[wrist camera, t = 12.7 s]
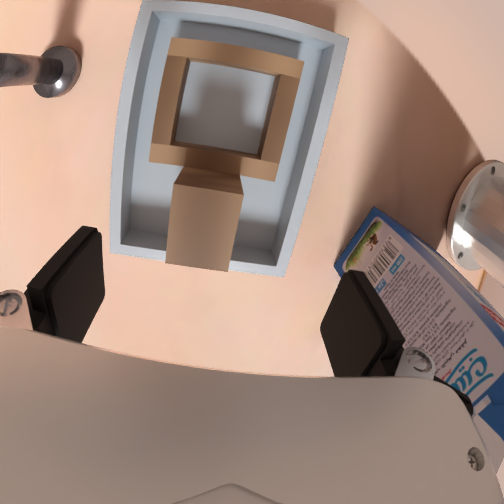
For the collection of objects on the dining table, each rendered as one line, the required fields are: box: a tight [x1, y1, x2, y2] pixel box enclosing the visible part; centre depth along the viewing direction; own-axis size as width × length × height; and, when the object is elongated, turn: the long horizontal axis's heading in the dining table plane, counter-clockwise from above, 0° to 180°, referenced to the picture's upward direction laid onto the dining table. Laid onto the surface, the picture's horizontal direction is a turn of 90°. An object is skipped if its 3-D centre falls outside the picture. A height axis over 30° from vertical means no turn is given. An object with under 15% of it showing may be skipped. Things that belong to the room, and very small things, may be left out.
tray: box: [110, 0, 349, 277], centre depth 18 cm, size 13×17×3 cm
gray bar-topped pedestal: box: [0, 46, 81, 98], centre depth 10 cm, size 4×4×10 cm
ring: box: [149, 37, 305, 272], centre depth 16 cm, size 8×12×6 cm, turn 168°
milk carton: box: [334, 207, 504, 441], centre depth 16 cm, size 10×6×20 cm, turn 62°
